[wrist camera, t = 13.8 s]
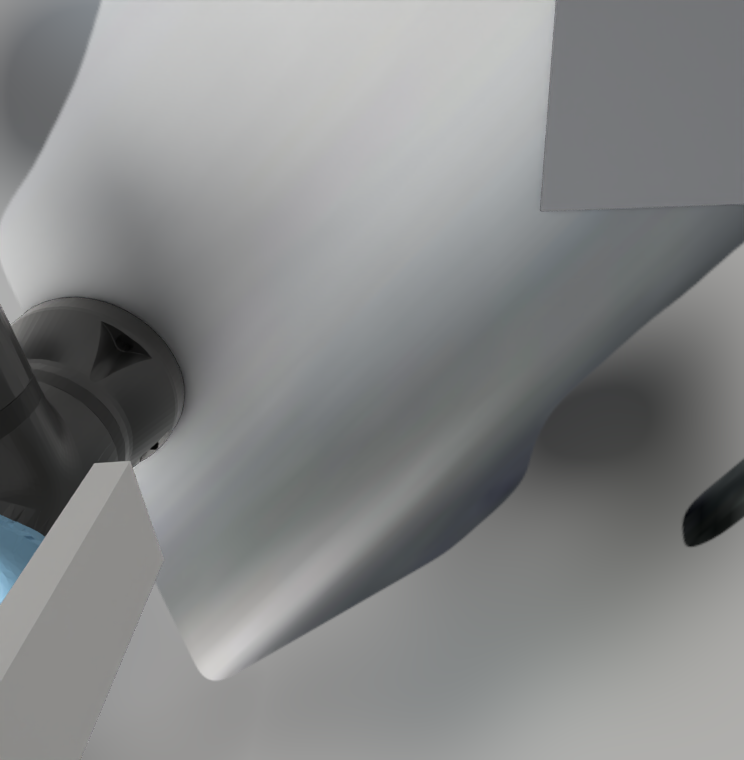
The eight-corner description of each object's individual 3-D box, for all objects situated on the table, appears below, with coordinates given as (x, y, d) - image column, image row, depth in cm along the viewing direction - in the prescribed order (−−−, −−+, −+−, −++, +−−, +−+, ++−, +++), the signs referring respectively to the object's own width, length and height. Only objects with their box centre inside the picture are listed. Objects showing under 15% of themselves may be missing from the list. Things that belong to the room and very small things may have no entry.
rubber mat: (539, 210, 46) (541, 211, 46) (567, -148, 36) (568, -149, 36) (835, 199, 45) (838, 200, 44) (945, -176, 35) (950, -178, 35)
